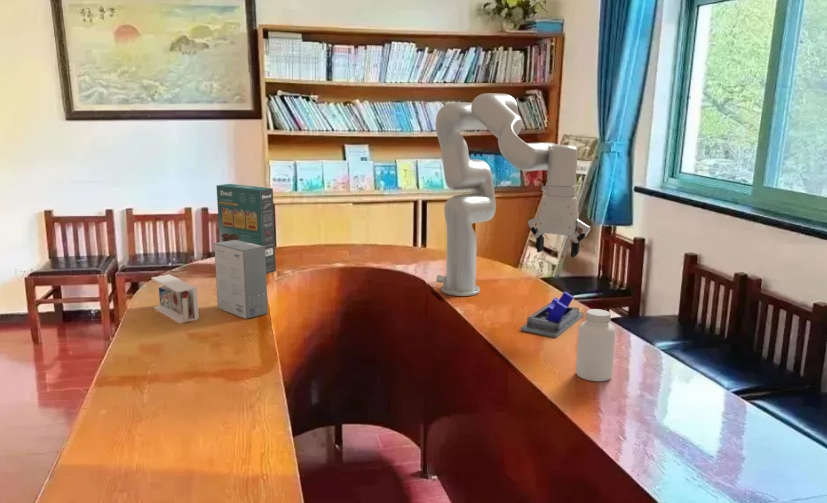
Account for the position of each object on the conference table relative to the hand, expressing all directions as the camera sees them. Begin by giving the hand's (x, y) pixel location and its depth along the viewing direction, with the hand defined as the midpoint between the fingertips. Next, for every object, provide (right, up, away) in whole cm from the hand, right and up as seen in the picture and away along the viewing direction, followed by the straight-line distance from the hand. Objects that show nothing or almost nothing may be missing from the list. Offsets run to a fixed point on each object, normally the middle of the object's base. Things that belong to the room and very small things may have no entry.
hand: (556, 253), depth 184 cm
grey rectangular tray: (0, -19, +4) cm, 20 cm away
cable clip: (0, -17, +4) cm, 18 cm away
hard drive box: (-89, -17, +13) cm, 92 cm away
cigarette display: (-107, -18, +10) cm, 109 cm away
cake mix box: (-100, -6, +62) cm, 118 cm away
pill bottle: (+2, -28, -31) cm, 42 cm away
